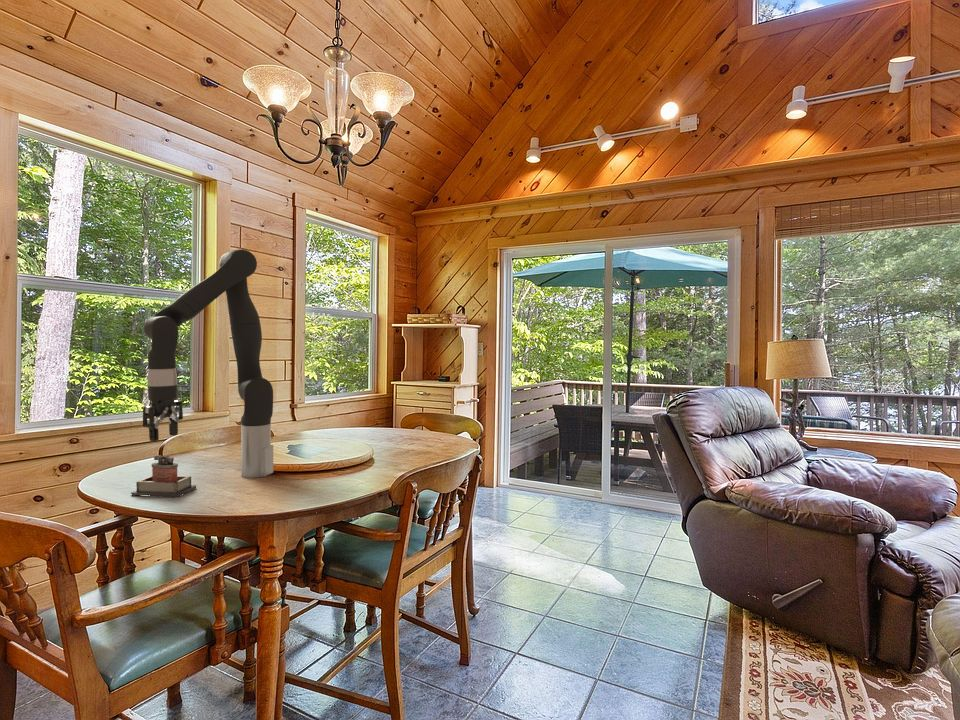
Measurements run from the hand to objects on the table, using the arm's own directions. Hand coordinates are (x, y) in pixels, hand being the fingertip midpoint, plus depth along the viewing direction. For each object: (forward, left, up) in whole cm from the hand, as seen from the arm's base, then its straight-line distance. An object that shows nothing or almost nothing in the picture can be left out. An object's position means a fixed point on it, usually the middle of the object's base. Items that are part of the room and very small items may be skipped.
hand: (164, 438), depth 153 cm
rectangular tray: (0, 0, -16) cm, 16 cm away
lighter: (0, 0, -16) cm, 16 cm away
